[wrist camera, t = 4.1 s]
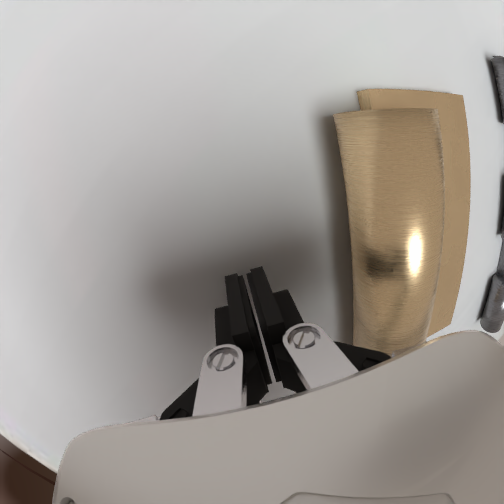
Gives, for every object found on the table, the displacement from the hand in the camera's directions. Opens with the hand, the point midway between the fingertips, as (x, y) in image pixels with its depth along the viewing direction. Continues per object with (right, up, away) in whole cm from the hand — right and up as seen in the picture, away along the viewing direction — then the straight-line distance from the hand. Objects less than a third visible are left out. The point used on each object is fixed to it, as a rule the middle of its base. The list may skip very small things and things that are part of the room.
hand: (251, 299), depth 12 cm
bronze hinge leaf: (+9, +3, +2) cm, 9 cm away
